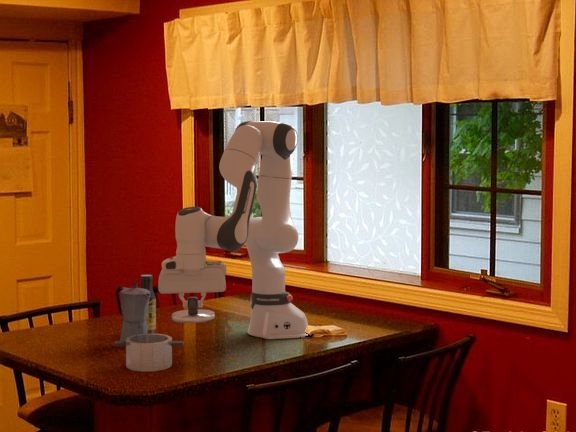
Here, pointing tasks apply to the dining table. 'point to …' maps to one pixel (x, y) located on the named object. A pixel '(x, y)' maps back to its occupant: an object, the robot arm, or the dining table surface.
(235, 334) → the dining table surface
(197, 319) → the lid
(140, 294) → the moka pot
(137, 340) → the pot
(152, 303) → the sauce bottle
